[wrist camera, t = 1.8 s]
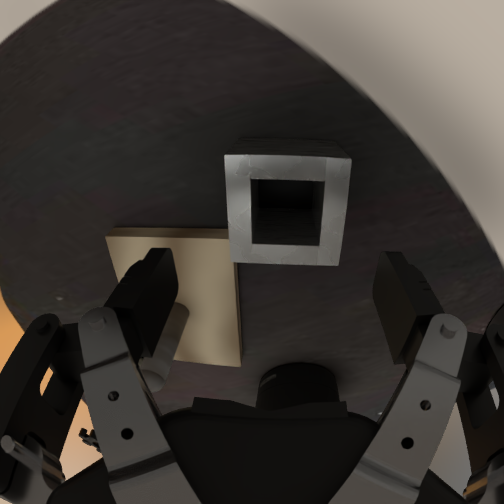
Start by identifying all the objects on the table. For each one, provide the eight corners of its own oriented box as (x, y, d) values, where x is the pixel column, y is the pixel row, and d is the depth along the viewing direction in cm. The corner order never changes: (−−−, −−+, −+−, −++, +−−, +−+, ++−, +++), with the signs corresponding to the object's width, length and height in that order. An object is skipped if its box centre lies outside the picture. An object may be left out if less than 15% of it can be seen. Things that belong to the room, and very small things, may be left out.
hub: (334, 140, 17) (351, 159, 13) (327, 225, 20) (338, 265, 16) (239, 138, 18) (224, 155, 13) (242, 222, 21) (230, 262, 17)
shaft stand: (235, 229, 21) (205, 325, 13) (242, 355, 28) (229, 440, 20) (114, 227, 22) (46, 302, 14) (150, 344, 29) (120, 418, 21)
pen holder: (333, 351, 27) (342, 443, 19) (343, 396, 32) (348, 469, 23) (244, 366, 29) (231, 451, 21) (269, 406, 34) (263, 477, 25)
